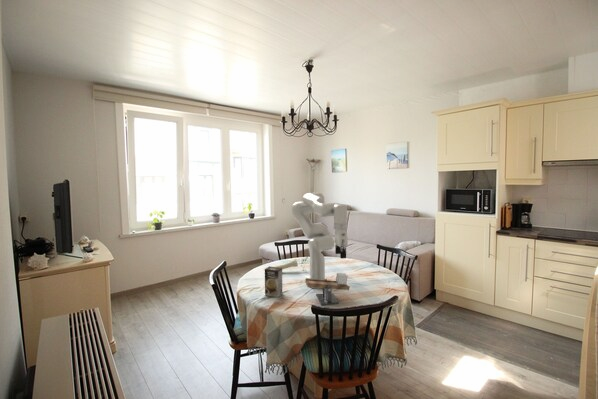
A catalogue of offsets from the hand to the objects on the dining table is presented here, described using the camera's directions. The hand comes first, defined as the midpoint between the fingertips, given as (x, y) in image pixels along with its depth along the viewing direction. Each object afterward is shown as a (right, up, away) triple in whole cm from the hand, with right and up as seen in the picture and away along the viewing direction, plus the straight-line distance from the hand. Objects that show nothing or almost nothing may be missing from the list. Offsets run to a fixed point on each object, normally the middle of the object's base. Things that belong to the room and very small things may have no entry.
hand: (340, 255), depth 163 cm
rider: (0, -17, +1) cm, 17 cm away
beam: (-8, -17, 0) cm, 19 cm away
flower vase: (-27, -22, +51) cm, 62 cm away
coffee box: (-39, -25, +9) cm, 47 cm away
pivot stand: (-8, -25, +1) cm, 26 cm away
